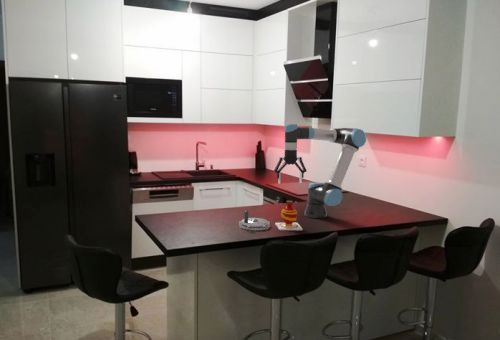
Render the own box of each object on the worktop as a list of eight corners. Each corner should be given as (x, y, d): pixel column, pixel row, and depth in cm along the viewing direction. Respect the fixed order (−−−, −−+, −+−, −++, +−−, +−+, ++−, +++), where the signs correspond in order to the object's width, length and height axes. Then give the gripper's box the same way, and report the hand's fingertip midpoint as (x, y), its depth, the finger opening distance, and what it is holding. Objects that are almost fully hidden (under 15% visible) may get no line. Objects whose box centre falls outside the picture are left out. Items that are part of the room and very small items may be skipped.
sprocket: (274, 225, 250) (275, 211, 249) (253, 229, 240) (253, 214, 238) (255, 219, 264) (256, 205, 263) (234, 222, 254) (234, 208, 253)
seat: (297, 224, 261) (297, 222, 261) (302, 230, 247) (302, 228, 247) (275, 224, 259) (275, 222, 259) (279, 230, 245) (279, 228, 245)
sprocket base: (267, 222, 263) (267, 220, 263) (272, 230, 244) (272, 229, 244) (237, 222, 260) (237, 220, 260) (240, 230, 242) (240, 229, 242)
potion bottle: (284, 222, 260) (285, 198, 258) (299, 224, 255) (300, 201, 253) (277, 225, 251) (278, 201, 249) (292, 228, 246) (293, 203, 244)
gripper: (308, 148, 258) (307, 182, 261) (269, 148, 254) (269, 182, 257) (312, 149, 251) (311, 184, 254) (272, 150, 247) (271, 184, 250)
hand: (290, 183), depth 256 cm, fingers open, 13 cm apart
